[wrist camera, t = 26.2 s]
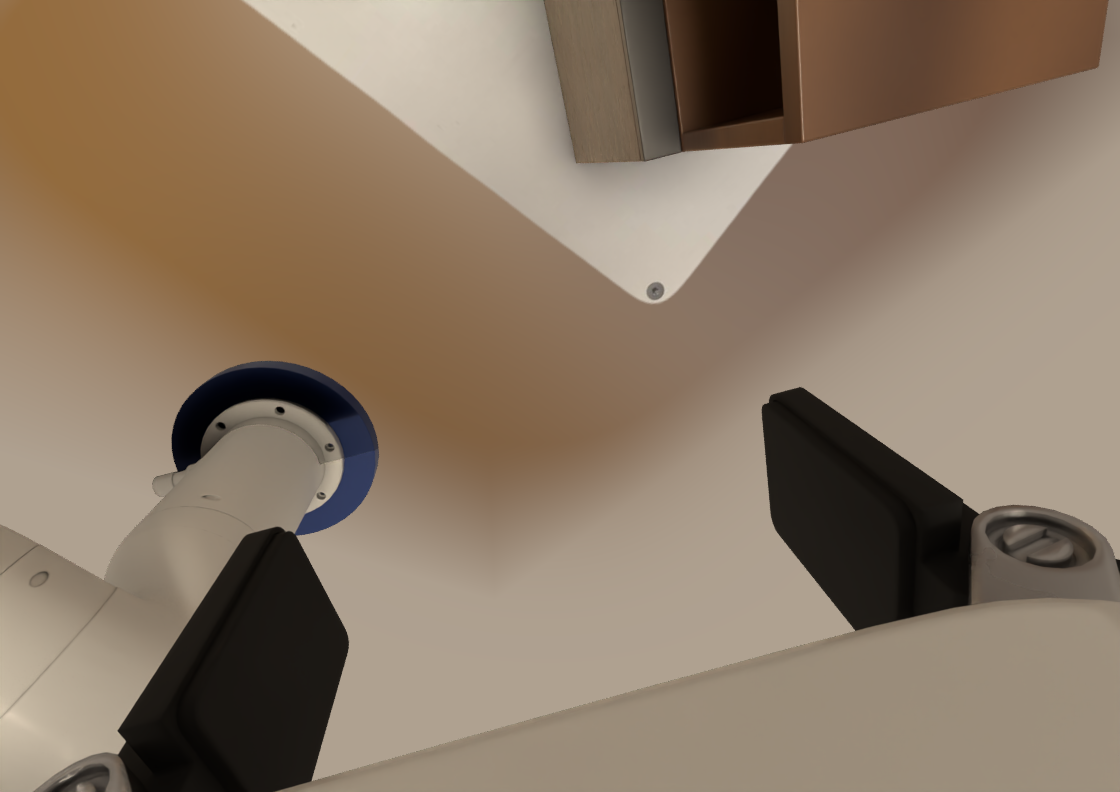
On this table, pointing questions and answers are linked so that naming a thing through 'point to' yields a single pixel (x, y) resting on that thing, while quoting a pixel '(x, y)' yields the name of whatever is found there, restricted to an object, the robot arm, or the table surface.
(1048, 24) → the cabinet
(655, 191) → the table surface
